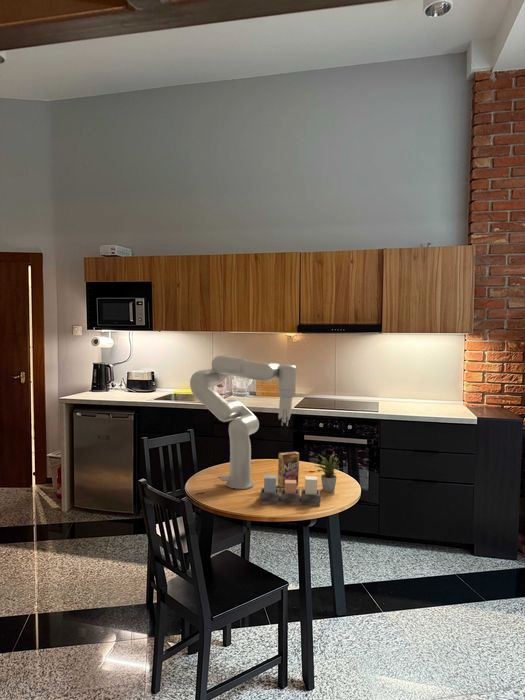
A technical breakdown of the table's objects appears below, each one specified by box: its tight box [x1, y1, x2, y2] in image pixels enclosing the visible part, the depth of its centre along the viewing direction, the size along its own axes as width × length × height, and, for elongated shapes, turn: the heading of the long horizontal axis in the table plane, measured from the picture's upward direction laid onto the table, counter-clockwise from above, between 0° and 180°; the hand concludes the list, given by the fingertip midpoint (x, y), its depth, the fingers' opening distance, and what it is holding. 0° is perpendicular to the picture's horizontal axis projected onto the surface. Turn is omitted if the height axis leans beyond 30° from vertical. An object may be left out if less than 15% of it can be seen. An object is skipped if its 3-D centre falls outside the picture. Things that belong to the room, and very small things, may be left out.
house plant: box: [313, 453, 343, 493], centre depth 226 cm, size 14×14×16 cm
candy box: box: [277, 451, 300, 488], centre depth 230 cm, size 9×4×15 cm, turn 115°
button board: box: [259, 487, 321, 507], centre depth 209 cm, size 25×10×4 cm, turn 87°
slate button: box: [263, 474, 277, 493], centre depth 210 cm, size 5×5×7 cm
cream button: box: [304, 475, 318, 495], centre depth 209 cm, size 5×5×7 cm
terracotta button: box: [284, 480, 297, 494], centre depth 209 cm, size 5×5×7 cm
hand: (284, 434), depth 220 cm, fingers closed
